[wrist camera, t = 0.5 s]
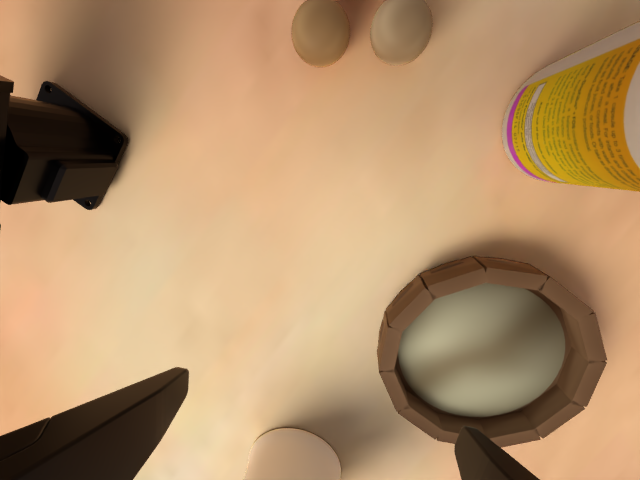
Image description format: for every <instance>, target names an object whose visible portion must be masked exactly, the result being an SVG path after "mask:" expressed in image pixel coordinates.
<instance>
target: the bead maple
mask: <svg viewBox="0 0 640 480" xmlns="http://www.w3.org/2000/svg"><path fill="white" fill-rule="evenodd" d="M431 32H432V15H431V11H430V8H429V6H428V4H427V3H426V1H425V0H385V1H384V2H383V3H382V4H381V6H380V7H379V8H378V10H377V11H376V13H375V15H374V18H373V20H372V24H371V29H370V39H371V45H372V48H373V50H374V52H375V54H376V55H377V57H378V58H379V59H380V60H381V61H383V62H384V63H386V64H389V65H393V66H400V65H404V64H407V63H409V62H411V61H413V60H414V59H416V58H417V57H418V56H419V55H420V54H421V53H422V52H423V50H424V49H425V47H426V46H427V44H428V42H429V39H430V36H431Z"/></svg>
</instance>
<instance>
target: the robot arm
mask: <svg viewBox="0 0 640 480" xmlns="http://www.w3.org/2000/svg"><path fill="white" fill-rule="evenodd" d="M13 86H14V82H13V81H11V80H9V79H7V78H5V77H2V76H0V201H1V200H2V201H3V202H5V203H6V204H8V205H11V204H18V203H26V202H33V201H41V200H45V201H47V202H50V203H51V202H58V201H65V200H72V199H73V200H74V201H76V202H77V203H78V204H80V205H81V206H83V207H84V208H86V209H88V210H92V209H96V208H97V207H98V206H99V204H100V202H101V199H102V197H103V195H104V194H105V193H106V191H107V189H108V187H109V185H110V183H111V181H112V179H113V176H114V174H115V172H116V170H117V168H118V164H119V162H120V159H121V157H122V155H123V153H124V151H125V149H126V147H127V145H128V138H127V136H126V135H125V134H124V133H123V132H121V131H120V130H118V129H117V128H116V127H114V126H113V125H112V124H110V123H109V122H108V121H106V120H105V119H103V118H102V117H101V116H99V115H98V114H97V113H95V112H94V111H93V110H91V109H90V108H88V107H87V106H86V105H84V104H83V103H82V102H80V101H79V100H78V99H76V98H75V97H74V96H72V95H71V94H69V93H68V92H67V91H65V90H64V89H63V88H61V87H60V86H59V85H57V84H55V83H53V82H49V81H45V82H43V84H42V85H41V88H40V91H39V94H38V97H37V100H32V99H26V98H21V97H15V96H10V93H13ZM51 89H52V92H51ZM119 137H120V140H121V141H120V143H119V141H118V138H119ZM89 201H90V202H91V204H90V202H89ZM0 228H1V224H0ZM188 381H189V371H188V370H187V369H185V368H180V367H175V368H173V369H170V370H168V371H165V372H163V373H160V374H158V375H155V376H153V377H150V378H147V379H145V380H142V381H140V382H137V383H135V384H132V385H130V386H127V387H125V388H122V389H120V390H117V391H115V392H112V393H110V394H107V395H105V396H102V397H100V398H97V399H95V400H92V401H90V402H87V403H85V404H82V405H80V406H77V407H75V408H72V409H69V410H67V411H64V412H62V413H59V414H57V415H54V416H52V417H51V419H50V418H46V419H43V420H41V421H38V422H36V423H33V424H31V425H28V426H25V427H23V428H20V429H17V430H15V431H12V432H10V433H7V434H4V435H2V436H0V480H133V479H134V477H135V476H136V475H137V473H138V472H139V470H140V469H141V468H142V466H143V465H144V463H145V462H146V461H147V459H148V458H149V456H150V455H151V454H152V452H153V451H154V449H155V448H156V447H157V445H158V444H159V442H160V441H161V439H162V438H163V436H164V434H165V433H166V431H167V429H168V427H169V426H170V424H171V422H172V420H173V419H174V417H175V415H176V413H177V412H178V410H179V408H180V406H181V405H182V403H183V401H184V399H185V398H186V395H187V392H188ZM455 456H456V460H457V464H458V467H459V471H460V475H461V479H462V480H539V479H538V478H537V477H536V476H535V475H533V474H532V473H531V472H530V471H528V470H527V469H526V468H525V467H523V466H522V465H521V464H520V463H519V462H517V461H516V460H515V459H514V458H512V457H511V456H510V455H509V454H508V453H506V452H505V451H504V450H503V449H501V448H500V447H499V446H498V445H496V444H495V443H494V442H493V441H492V440H490V439H489V438H488V437H487V436H485V435H484V434H483V433H482V432H480V431H479V430H478V429H476V428H474V427H469V426H463V427H462V428H461V430H460V433H459V435H458V438H457V440H456V443H455Z"/></svg>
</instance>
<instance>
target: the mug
mask: <svg viewBox="0 0 640 480" xmlns="http://www.w3.org/2000/svg"><path fill="white" fill-rule="evenodd" d="M340 477H341V466H340V462H339V459H338V457H337V455H336V453H335V451H334V450H333V449H332V448H331V446H330V445H329V444H328V443H326V442H325V441H324V440H323V439H321V438H320V437H318V436H316V435H314V434H312V433H310V432H307V431H304V430H300V429H294V428H280V429H275V430H272V431H269V432H267V433H265V434H263V435H262V436H260V437H259V438H258V439H257V440H256V441H255V442H254V444H253V445H252V447H251V450H250V453H249V458H248V465H247V468H246V472H245V475H244V478H243V480H340Z"/></svg>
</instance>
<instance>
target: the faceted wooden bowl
mask: <svg viewBox="0 0 640 480" xmlns="http://www.w3.org/2000/svg"><path fill="white" fill-rule="evenodd" d="M420 274H421V275H420V276H419V275H417V277H416V278H415V279H414V280H413V281H412V282H410V283H409V284H408V285H407V286H406V287H405V288H404V289H403V290H402V291H401V292H400V293H399V294H398V295H397V296H396V298H395V299H394V300H393V301H392V303H391V304H390V305H389V306H388V307H387V308H386V311H385V312H384V317H383V320H382V324H381V328H380V331H379V340H378V349H377V355H378V365H379V373H380V375H381V378H382V380H383V382H384V384H385V387H386V389H387V391H388V393H389V396H390V398H391V400H392V402H393V405H394V407H395V409H396V411H398V414H400V415H401V416H403V417H404V418H406V419H407V420H408V421H410V422H411V423H413V424H414V425H415V426H417V427H418V428H420V429H421V430H422V431H424V432H425V433H427V434H428V435H429V436H431V437H432V438H434V439H436V438H437V441H442V442H448V443H453V444H455V443H456V440H457V438H458V435H459V433H460V430H461V428H462V427H463V426H469V427H474V428H476V429H478V430H479V431H480V432H482V433H483V434H484V435H485V436H487V437H488V438H489V439H490V440H492V441H493V442H494V443H495V444H496V445H498V446H499V447H500V448H501V447H506V446H511V445H516V444H521V443H526V442H531V441H536V440H540V437H542V438H544V437H546V436H547V435H549V434H550V433H551V432H553V431H554V430H556V429H557V428H559V427H560V426H561V425H563V424H564V423H566V422H567V421H568V420H570V419H571V418H573V417H574V416H576V415H577V414H578V413H580V412H581V411H583V410H584V409H585V408H584V407H583V406H585V407H587V405H588V403H589V401H590V399H591V396H592V394H593V392H594V390H595V388H596V385H597V383H598V381H599V379H600V377H601V374H602V372H603V370H604V368H605V366H606V362H605V361H606V360H607V358H606V354H605V350H604V346H603V342H602V338H601V334H600V330H599V326H598V322H597V318H596V314H595V313H594V312H593V310H592V309H591V308H589V307H588V306H587V305H585V304H584V303H583V302H582V301H580V300H579V299H578V298H577V297H575V296H574V295H573V294H571V293H570V292H569V291H568V290H566V289H565V288H564V287H563V286H561V285H560V284H559V283H557V282H556V281H555V280H554V279H552V278H551V277H550V276H548V275H546V274H545V273H543V272H541V271H540V270H538V269H536V268H535V267H533V266H532V265H529V264H527V263H520V262H516V261H511V260H506V259H501V258H490V257H477V256H473V258H472V257H471V256H470V257H467V258H464V259H461V260H456V261H453V262H449V263H446V264H443V265H440V266H438V267H435V268H433V269H431V270H429V271H426V272H423V273H420ZM539 436H540V437H539Z"/></svg>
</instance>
